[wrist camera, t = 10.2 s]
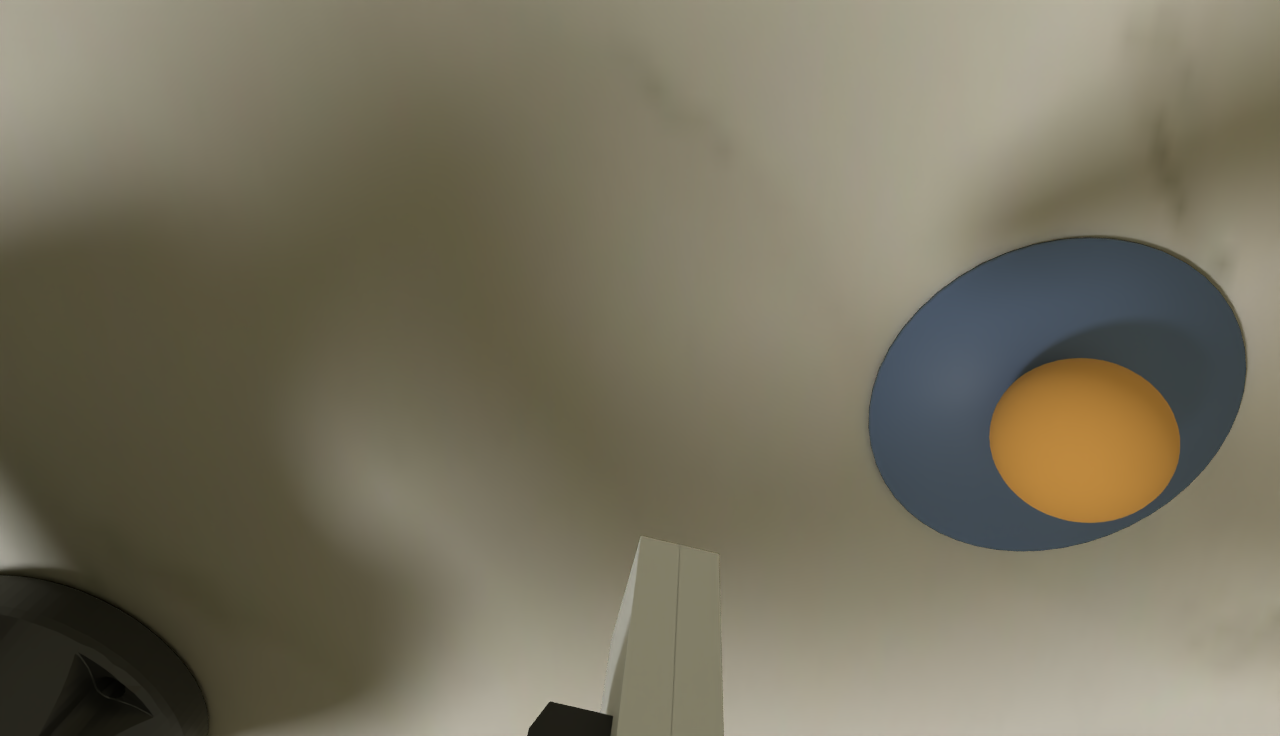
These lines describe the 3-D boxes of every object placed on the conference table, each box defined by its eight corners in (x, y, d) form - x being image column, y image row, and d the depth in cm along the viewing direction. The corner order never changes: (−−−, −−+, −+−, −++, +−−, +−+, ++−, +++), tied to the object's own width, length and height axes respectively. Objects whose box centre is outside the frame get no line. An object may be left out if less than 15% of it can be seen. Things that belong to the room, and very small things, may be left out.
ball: (964, 441, 29) (961, 509, 25) (1028, 315, 27) (1037, 364, 22) (1112, 499, 28) (1139, 583, 23) (1193, 371, 25) (1241, 436, 21)
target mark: (822, 506, 30) (822, 509, 30) (950, 196, 25) (952, 198, 24) (1126, 578, 31) (1128, 581, 30) (1322, 289, 25) (1327, 291, 25)
